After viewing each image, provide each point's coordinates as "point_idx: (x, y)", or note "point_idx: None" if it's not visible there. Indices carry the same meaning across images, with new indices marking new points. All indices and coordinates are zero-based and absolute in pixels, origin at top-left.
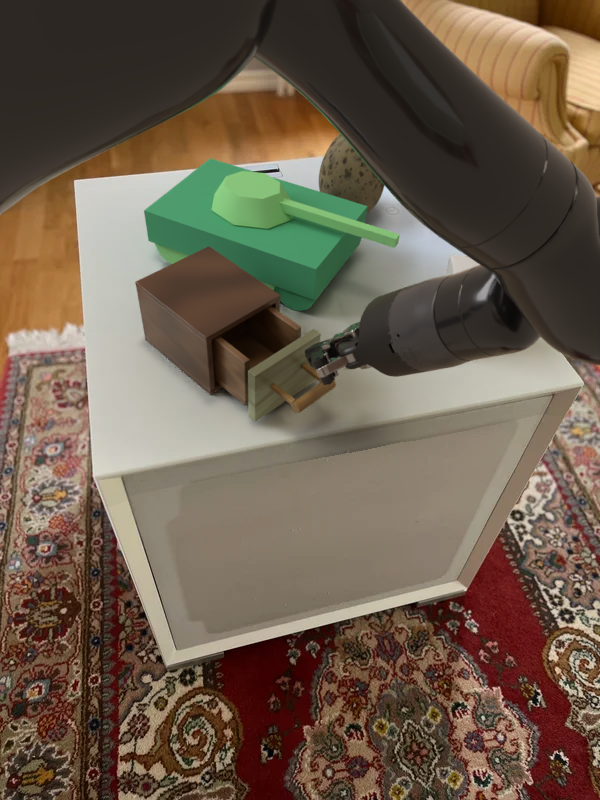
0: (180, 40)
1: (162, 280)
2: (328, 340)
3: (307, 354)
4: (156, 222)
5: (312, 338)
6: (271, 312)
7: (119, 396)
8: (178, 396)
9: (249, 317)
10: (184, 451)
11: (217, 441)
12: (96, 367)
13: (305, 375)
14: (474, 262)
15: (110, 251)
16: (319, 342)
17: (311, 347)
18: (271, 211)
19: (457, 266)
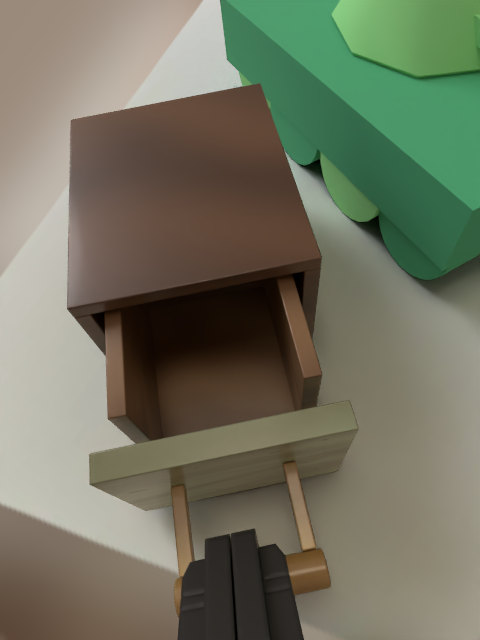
0: None
1: (115, 132)
2: (252, 631)
3: (184, 583)
4: (232, 22)
5: (323, 433)
6: (280, 293)
7: (10, 316)
8: (84, 362)
9: (212, 289)
10: (3, 490)
11: (66, 503)
12: (25, 248)
13: (300, 470)
14: None
15: (188, 67)
16: (255, 559)
17: (212, 565)
18: (444, 35)
19: None
